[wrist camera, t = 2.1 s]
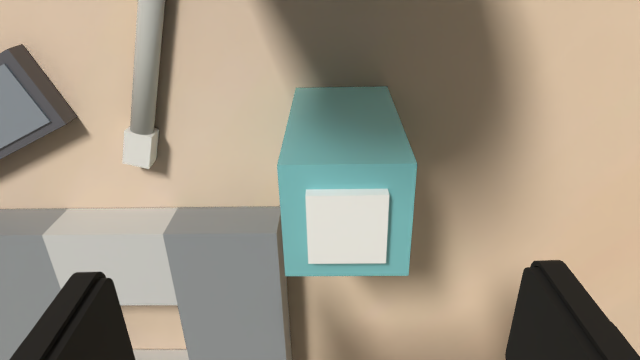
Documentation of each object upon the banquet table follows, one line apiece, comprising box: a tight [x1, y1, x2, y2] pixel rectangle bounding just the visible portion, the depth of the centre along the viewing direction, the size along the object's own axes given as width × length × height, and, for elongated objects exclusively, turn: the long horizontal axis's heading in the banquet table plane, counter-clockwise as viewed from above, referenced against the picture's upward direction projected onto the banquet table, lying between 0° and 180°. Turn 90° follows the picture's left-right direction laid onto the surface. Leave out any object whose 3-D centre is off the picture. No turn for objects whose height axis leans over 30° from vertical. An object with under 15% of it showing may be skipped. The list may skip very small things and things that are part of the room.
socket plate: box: [0, 207, 292, 360], centre depth 26 cm, size 16×14×2 cm
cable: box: [123, 0, 165, 169], centre depth 19 cm, size 11×1×1 cm, turn 166°
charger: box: [277, 86, 417, 276], centre depth 18 cm, size 4×4×8 cm
